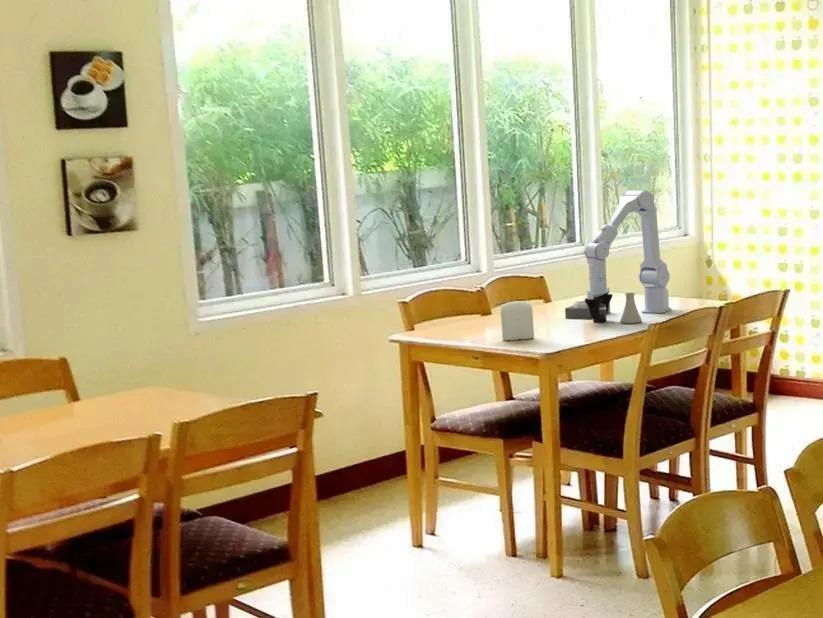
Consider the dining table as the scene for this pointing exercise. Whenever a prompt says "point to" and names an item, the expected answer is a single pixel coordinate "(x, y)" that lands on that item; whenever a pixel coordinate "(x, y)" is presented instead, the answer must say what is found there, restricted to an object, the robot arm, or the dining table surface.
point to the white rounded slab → (517, 321)
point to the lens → (601, 314)
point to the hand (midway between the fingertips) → (599, 317)
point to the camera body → (579, 310)
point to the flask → (630, 310)
